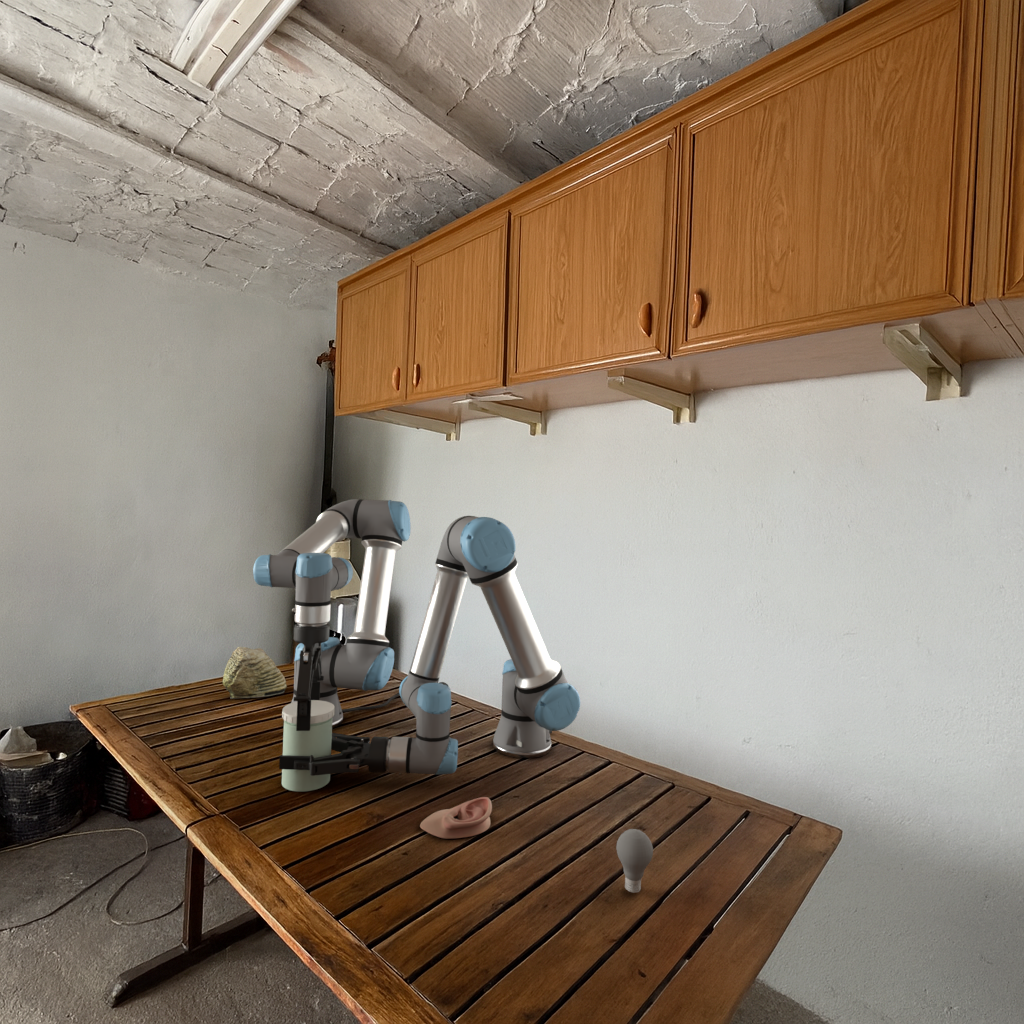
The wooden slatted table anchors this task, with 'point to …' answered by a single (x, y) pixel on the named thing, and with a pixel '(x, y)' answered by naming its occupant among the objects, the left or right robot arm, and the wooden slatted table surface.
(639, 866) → the light bulb
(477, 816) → the anatomical model
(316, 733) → the jar
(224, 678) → the fossil
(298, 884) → the wooden slatted table surface
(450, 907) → the wooden slatted table surface
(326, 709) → the lid
